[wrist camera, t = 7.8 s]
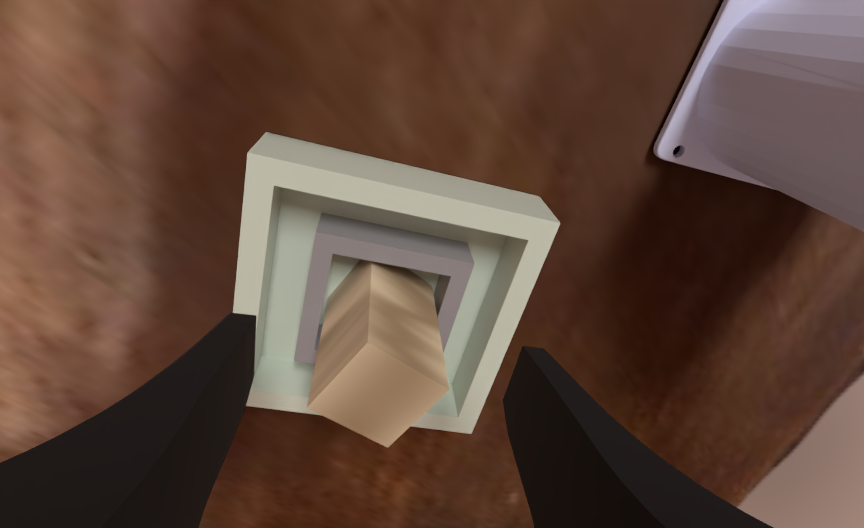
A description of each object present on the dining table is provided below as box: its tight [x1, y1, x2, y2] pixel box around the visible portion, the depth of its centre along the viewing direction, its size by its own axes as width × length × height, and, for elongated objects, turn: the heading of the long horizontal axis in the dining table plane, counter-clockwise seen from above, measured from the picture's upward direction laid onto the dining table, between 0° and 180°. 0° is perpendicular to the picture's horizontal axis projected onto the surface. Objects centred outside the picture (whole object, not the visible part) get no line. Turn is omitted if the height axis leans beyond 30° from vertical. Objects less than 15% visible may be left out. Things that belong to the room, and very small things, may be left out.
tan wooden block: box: [307, 259, 449, 448], centre depth 20 cm, size 4×4×7 cm
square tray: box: [233, 132, 560, 434], centre depth 22 cm, size 12×12×3 cm
